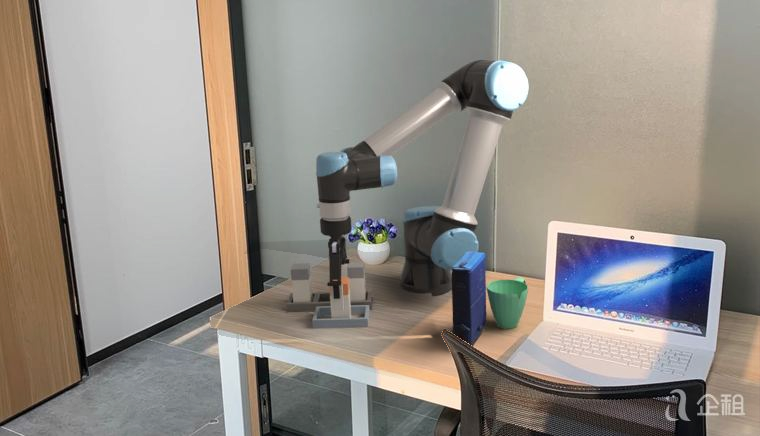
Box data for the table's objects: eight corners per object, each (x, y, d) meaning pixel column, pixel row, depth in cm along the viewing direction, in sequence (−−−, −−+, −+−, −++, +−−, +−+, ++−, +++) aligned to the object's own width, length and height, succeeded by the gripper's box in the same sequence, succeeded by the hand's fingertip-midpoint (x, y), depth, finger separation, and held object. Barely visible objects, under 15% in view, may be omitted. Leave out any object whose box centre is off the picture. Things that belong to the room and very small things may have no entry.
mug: (518, 336, 161) (519, 296, 158) (480, 328, 166) (480, 290, 163) (539, 313, 173) (540, 276, 170) (503, 307, 178) (503, 270, 175)
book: (472, 353, 154) (471, 269, 148) (449, 349, 156) (447, 267, 151) (488, 327, 166) (488, 249, 161) (467, 324, 169) (466, 247, 163)
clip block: (373, 300, 186) (373, 289, 185) (372, 313, 178) (371, 302, 177) (291, 302, 187) (290, 292, 186) (285, 315, 179) (284, 305, 178)
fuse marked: (351, 317, 174) (349, 277, 171) (350, 325, 170) (347, 283, 167) (333, 318, 174) (331, 277, 171) (332, 325, 170) (329, 284, 167)
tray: (369, 316, 176) (369, 305, 175) (368, 330, 168) (367, 318, 167) (317, 317, 177) (316, 306, 176) (313, 331, 168) (312, 320, 167)
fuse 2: (366, 300, 184) (364, 261, 181) (365, 306, 180) (363, 267, 177) (349, 300, 184) (347, 262, 181) (348, 307, 180) (345, 267, 177)
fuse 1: (312, 301, 184) (310, 263, 182) (310, 308, 180) (307, 268, 177) (296, 302, 185) (293, 263, 182) (293, 308, 180) (290, 269, 177)
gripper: (325, 204, 177) (330, 281, 182) (313, 232, 153) (319, 320, 158) (354, 203, 176) (358, 280, 182) (346, 231, 152) (352, 319, 158)
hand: (340, 299), depth 170 cm, fingers open, 13 cm apart
